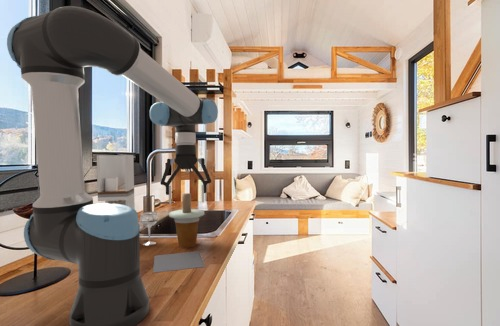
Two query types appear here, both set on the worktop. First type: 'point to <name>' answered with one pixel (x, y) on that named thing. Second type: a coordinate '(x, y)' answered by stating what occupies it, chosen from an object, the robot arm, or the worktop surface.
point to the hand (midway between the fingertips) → (186, 202)
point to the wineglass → (148, 222)
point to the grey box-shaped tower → (116, 179)
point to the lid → (186, 209)
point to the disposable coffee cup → (187, 231)
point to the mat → (177, 261)
